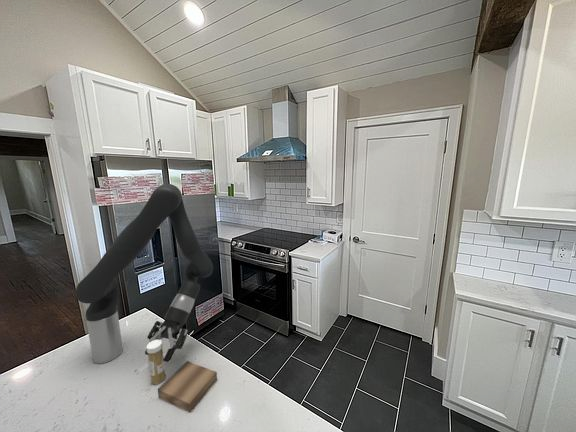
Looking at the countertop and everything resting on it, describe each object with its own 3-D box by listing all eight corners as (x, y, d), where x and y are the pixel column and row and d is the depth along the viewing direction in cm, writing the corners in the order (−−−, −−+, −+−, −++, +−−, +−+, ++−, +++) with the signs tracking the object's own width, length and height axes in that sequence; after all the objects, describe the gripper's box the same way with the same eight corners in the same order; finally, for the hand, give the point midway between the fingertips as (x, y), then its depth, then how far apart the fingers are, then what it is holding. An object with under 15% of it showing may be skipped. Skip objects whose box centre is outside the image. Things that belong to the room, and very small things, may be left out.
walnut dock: (158, 397, 72) (157, 388, 72) (188, 368, 83) (187, 360, 83) (190, 412, 68) (189, 403, 67) (217, 379, 79) (216, 371, 78)
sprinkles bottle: (166, 380, 78) (162, 344, 76) (151, 387, 76) (146, 350, 74) (165, 371, 82) (161, 337, 80) (150, 377, 80) (145, 342, 78)
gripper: (159, 302, 86) (133, 351, 78) (189, 309, 81) (164, 362, 72) (172, 308, 92) (149, 354, 83) (201, 315, 87) (179, 365, 78)
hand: (156, 358), depth 78 cm, fingers open, 8 cm apart
